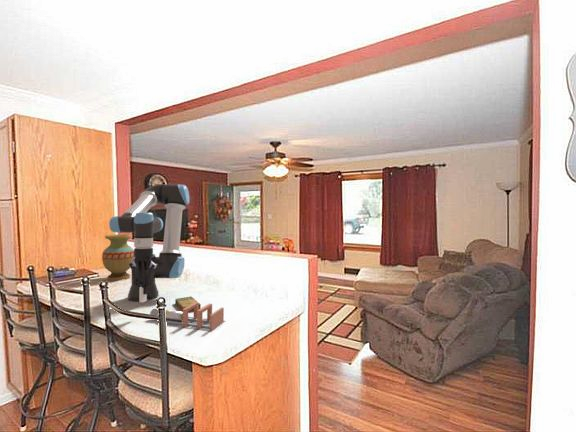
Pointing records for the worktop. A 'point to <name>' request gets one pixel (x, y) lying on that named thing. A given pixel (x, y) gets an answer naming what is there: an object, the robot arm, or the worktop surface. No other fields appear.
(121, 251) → the vase
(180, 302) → the carton
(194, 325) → the collar deck
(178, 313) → the tube
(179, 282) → the worktop surface
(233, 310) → the worktop surface
